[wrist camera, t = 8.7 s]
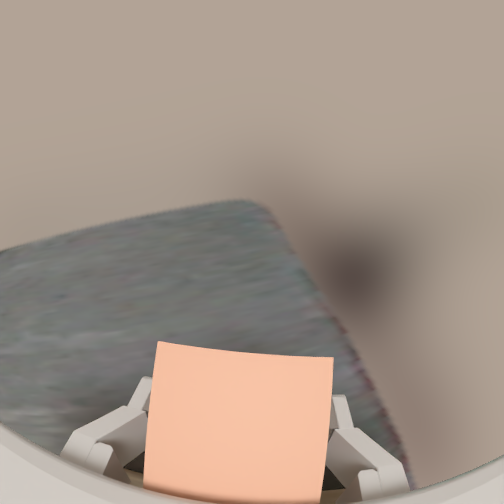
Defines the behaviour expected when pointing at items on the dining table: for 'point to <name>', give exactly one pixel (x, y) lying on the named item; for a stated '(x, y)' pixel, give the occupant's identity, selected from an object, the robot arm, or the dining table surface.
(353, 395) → the dining table surface
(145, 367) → the dining table surface
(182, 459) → the terracotta block
